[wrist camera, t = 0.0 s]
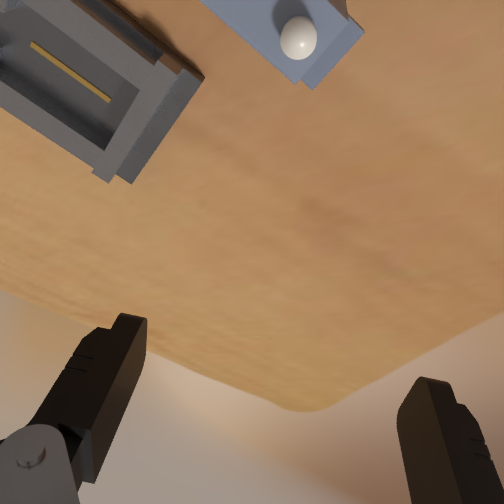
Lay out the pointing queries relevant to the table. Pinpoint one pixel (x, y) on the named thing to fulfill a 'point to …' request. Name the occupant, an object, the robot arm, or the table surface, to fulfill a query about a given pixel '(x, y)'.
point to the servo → (293, 33)
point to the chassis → (91, 81)
